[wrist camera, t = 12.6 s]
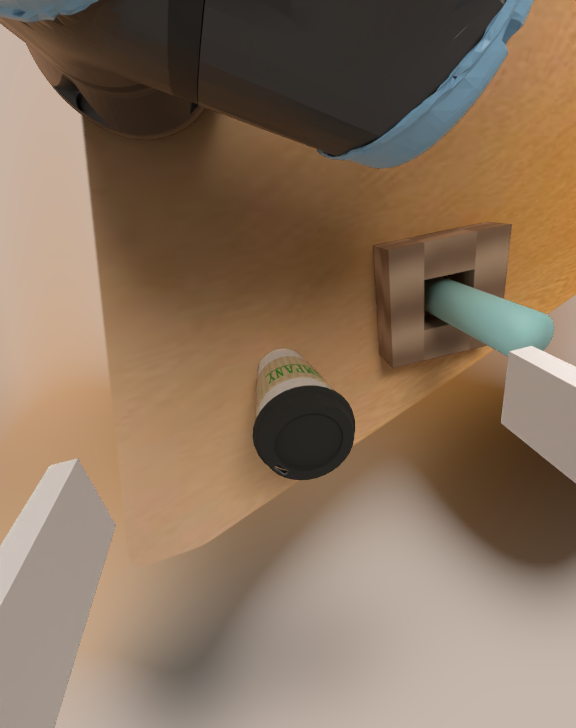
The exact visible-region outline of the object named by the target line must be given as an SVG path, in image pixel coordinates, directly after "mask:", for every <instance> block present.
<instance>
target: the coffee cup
mask: <svg viewBox="0 0 576 728" xmlns="http://www.w3.org/2000/svg"><path fill="white" fill-rule="evenodd" d="M255 419H256V420H255V423H254V427H253V442H254V446H255V448H256V451H257V453H258V455H259V456H260V458H261V459H262V460H263V462H264V463H265V464H267V465H268V466H269V467H270V468H271V469H272V470H273V471H274V472H276V473H277V474H279V475H281V476H283V477H285V478H289V479H294V480H309V479H314V478H318V477H320V476H323V475H326V474H327V473H329V472H331V471H333V470H334V469H335V468H337V467H338V466H339V465H340V464H341V463H342V462H343V461H344V460H345V459H346V457H347V456H348V454H349V453H350V450H351V448H352V446H353V441H354V432H355V419H354V415H353V411H352V409H351V407H350V405H349V403H348V402H347V401H346V400H345V398H344V397H343V396H342V395H340V394H339V393H337V392H336V391H334V390H333V389H332V388H331V387H330V386H329V385H328V383H327V382H326V381H325V380H324V379H323V378H322V377H321V376H320V375H319V374H318V372H317V371H316V370H315V369H314V368H313V367H312V366H311V365H310V364H309V363H308V362H307V361H305V360H304V359H303V357H302V356H301V355H300V354H299V353H297V352H296V351H294V350H291V349H287V348H281V349H276V350H273V351H271V352H269V353H268V354H267V355H266V356H264V358H263V359H262V360H261V362H260V364H259V367H258V379H257V385H256V415H255ZM275 466H277V467H279V468H283V469H286V470H288V471H286V470H282V469H279V468H276V467H275Z"/></svg>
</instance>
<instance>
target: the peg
mask: <svg viewBox="0 0 576 728" xmlns="http://www.w3.org/2000/svg"><path fill="white" fill-rule="evenodd" d="M424 310H425V311H426V312H428V313H430V314H432V315H434V316H436V317H437V318H439V319H441V320H443V321H445V322H446V323H448V324H450V325H452V326H454V327H455V328H457V329H459V330H461V331H463V332H464V333H466V334H468V335H470V336H472V337H473V338H475V339H477V340H479V341H481V342H482V343H484V344H486V345H488V346H490V347H491V348H493V349H495V350H497V351H499V352H500V353H502V354H504V355H506V356H508V357H509V351H513V350H517V349H521V348H525V347H529V346H533V347H535V348H538V349H540V350H542V351H544V349H545V348H546V347H547V345H548V344H549V343H550V341H551V339H552V336H553V332H554V324H553V321H552V319H551V318H550V317H549V316H548V315H547V314H544V313H542V312H539V311H536V310H533V309H531V308H528V307H525V306H522V305H519V304H517V303H514V302H511V301H508V300H506V299H503V298H500V297H497V296H495V295H492V294H489V293H486V292H483V291H481V290H478V289H475V288H472V287H470V286H467V285H464V284H461V283H459V282H456V281H453V280H450V279H447V278H445V277H442V276H441V277H436V278H432V279H427V280H424Z"/></svg>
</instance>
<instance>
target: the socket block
mask: <svg viewBox="0 0 576 728" xmlns="http://www.w3.org/2000/svg"><path fill="white" fill-rule="evenodd" d="M511 227H512V224H503V223H493V222H484V223H479V224H474V225H469V226H464V227H460V228H455V229H450V230H445V231H440V232H436V233H431V234H426V235H421V236H416V237H412V238H407V239H402V240H397V241H392V242H388V243H383V244H378V245H373V247H374V264H375V282H376V299H377V316H378V334H379V351H380V356H381V357H382V358H383V359H384V360H385V361H386V362H387V363H388V364H389V365H390V366H391V367H393V368H395V367H399V366H403V365H408V364H412V363H416V362H420V361H424V360H428V359H433V358H437V357H441V356H445V355H449V354H453V353H458V352H462V351H466V350H470V349H474V348H478V347H483V346H487V345H486V344H484V343H482V342H481V341H479V340H477V339H475V338H473V337H472V336H470V335H468V334H466V333H464V332H463V331H461V330H459V329H457V328H455V327H454V326H452V325H450V324H448V323H446V322H445V321H443V320H441V319H439V318H437V317H436V316H434V315H432V314H431V315H427V316H424V280H427V279H432V278H436V277H441V276H446V275H450V274H453V281H456V282H459V283H461V284H464V285H467V286H470V287H472V288H475V289H478V290H481V291H483V292H486V293H489V294H492V295H495V296H497V297H500V298H503V299H504V292H505V283H506V274H507V264H508V255H509V245H510V236H511Z"/></svg>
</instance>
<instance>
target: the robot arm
mask: <svg viewBox="0 0 576 728" xmlns="http://www.w3.org/2000/svg"><path fill="white" fill-rule="evenodd" d="M533 1H534V0H0V23H1V24H2V25H3V26H4V27H6V28H7V29H8V30H10V31H11V32H12V33H14V34H15V35H16V36H17V37H19V38H20V39H21V40H23V41H24V42H25V43H26V45H27V47H28V49H29V51H30V53H31V55H32V57H33V58H34V60H35V62H36V64H37V65H38V67H39V69H40V70H41V72H42V73H43V75H44V76H45V77H46V79H47V80H48V81H49V83H50V84H51V85H52V86H53V88H54V89H55V90H56V91H57V92H58V94H59V95H60V96H61V97H62V98H63V99H64V100H65V101H66V102H67V103H68V104H69V105H70V106H72V107H73V108H74V109H75V110H76V111H78V112H79V113H80V114H82V115H83V116H84V117H86V118H87V119H89V120H90V121H92V122H94V123H95V124H97V125H99V126H100V127H102V128H104V129H106V130H108V131H110V132H113V133H115V134H118V135H121V136H125V137H129V138H134V139H145V140H148V139H159V138H163V137H167V136H170V135H173V134H175V133H177V132H179V131H181V130H183V129H184V128H186V127H187V126H189V125H190V124H191V123H192V122H193V121H195V120H196V119H197V118H198V116H199V115H200V114H201V113H202V112H203V110H204V109H205V108H207V109H210V110H212V111H215V112H218V113H221V114H223V115H226V116H229V117H231V118H234V119H237V120H240V121H242V122H245V123H248V124H250V125H253V126H256V127H259V128H261V129H264V130H267V131H269V132H272V133H275V134H278V135H280V136H283V137H286V138H288V139H291V140H294V141H297V142H299V143H302V144H305V145H307V146H310V147H313V148H316V149H317V151H318V152H319V153H320V154H321V155H323V156H324V157H327V158H329V159H338V160H348V161H352V162H355V163H358V164H361V165H364V166H367V167H371V168H378V169H379V168H391V167H395V166H399V165H401V164H404V163H406V162H408V161H410V160H412V159H414V158H416V157H417V156H419V155H421V154H422V153H424V152H425V151H426V150H428V149H429V148H430V147H432V146H433V145H434V144H435V143H437V142H438V141H439V140H440V139H441V138H442V137H443V136H444V135H445V134H446V133H448V132H449V131H450V130H451V129H452V128H453V127H454V126H455V124H456V123H457V122H458V121H459V120H460V119H461V118H462V117H463V116H464V115H465V114H466V112H467V111H468V110H469V109H470V108H471V106H472V105H473V104H474V103H475V101H476V100H477V99H478V98H479V96H480V95H481V94H482V92H483V91H484V90H485V88H486V87H487V86H488V84H489V83H490V81H491V80H492V78H493V77H494V75H495V74H496V72H497V71H498V69H499V67H500V66H501V64H502V63H503V61H504V59H505V58H506V56H507V54H508V49H507V47H506V45H505V44H506V42H507V41H508V40H509V39H510V38H511V36H512V35H513V34H515V33H516V32H517V31H518V30H519V29H520V28H521V27H522V26H523V25H524V22H525V20H526V18H527V16H528V13H529V11H530V9H531V6H532V4H533ZM501 423H502V424H503V425H504V426H505V427H507V428H508V429H509V430H510V431H512V432H513V433H514V434H515V435H516V436H518V437H519V438H520V439H521V440H523V441H524V442H525V443H526V444H528V445H529V446H530V447H531V448H533V449H534V450H535V451H536V452H538V453H539V454H540V455H541V456H543V457H544V458H545V459H546V460H548V461H549V462H550V463H551V464H552V465H554V466H555V467H556V468H557V469H559V470H560V471H561V472H562V473H564V474H565V475H566V476H567V477H569V478H570V479H571V480H572V481H574V482H575V483H576V367H575V366H573V365H571V364H569V363H567V362H564V361H562V360H560V359H558V358H556V357H554V356H552V355H550V354H548V353H546V352H544V351H542V350H540V349H538V348H535V347H533V346H529V347H525V348H521V349H517V350H513V351H509V358H508V366H507V375H506V383H505V392H504V400H503V409H502V417H501ZM115 526H116V524H115V523H114V521H113V519H112V517H111V515H110V514H109V512H108V510H107V509H106V507H105V505H104V503H103V502H102V500H101V498H100V496H99V494H98V493H97V491H96V489H95V487H94V486H93V484H92V482H91V480H90V478H89V477H88V475H87V474H86V472H85V470H84V468H83V466H82V465H81V463H80V461H79V459H73V460H69V461H66V462H61V463H57V464H53V465H50V466H49V468H48V469H47V471H46V472H45V474H44V476H43V477H42V479H41V481H40V482H39V484H38V486H37V487H36V489H35V490H34V492H33V494H32V495H31V497H30V498H29V501H28V502H27V503H26V505H25V507H24V508H23V510H22V511H21V513H20V515H19V516H18V518H17V520H16V521H15V523H14V525H13V526H12V528H11V529H10V531H9V533H8V534H7V536H6V538H5V539H4V541H3V543H2V544H1V546H0V728H54V727H55V724H56V720H57V717H58V713H59V710H60V707H61V704H62V701H63V697H64V694H65V691H66V688H67V684H68V681H69V677H70V674H71V671H72V668H73V665H74V661H75V658H76V655H77V651H78V648H79V645H80V641H81V638H82V635H83V631H84V628H85V625H86V622H87V618H88V615H89V612H90V608H91V605H92V602H93V599H94V595H95V592H96V589H97V585H98V582H99V579H100V576H101V573H102V569H103V566H104V562H105V559H106V556H107V553H108V549H109V546H110V543H111V540H112V536H113V533H114V530H115Z"/></svg>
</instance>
